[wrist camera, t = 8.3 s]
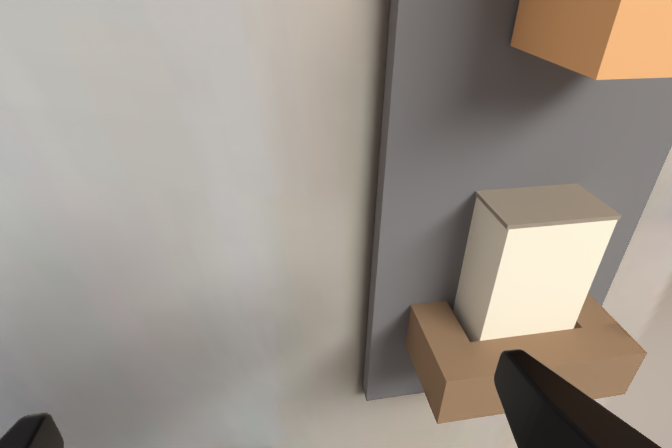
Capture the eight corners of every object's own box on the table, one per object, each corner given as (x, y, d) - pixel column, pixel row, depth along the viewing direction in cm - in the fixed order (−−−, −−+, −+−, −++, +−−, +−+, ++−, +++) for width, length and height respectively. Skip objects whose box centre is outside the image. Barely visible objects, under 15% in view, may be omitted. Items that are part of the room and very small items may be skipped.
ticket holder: (564, 358, 31) (627, 440, 26) (362, 387, 28) (388, 483, 23) (827, -278, 15) (1129, -390, 10) (414, -326, 12) (530, -503, 7)
